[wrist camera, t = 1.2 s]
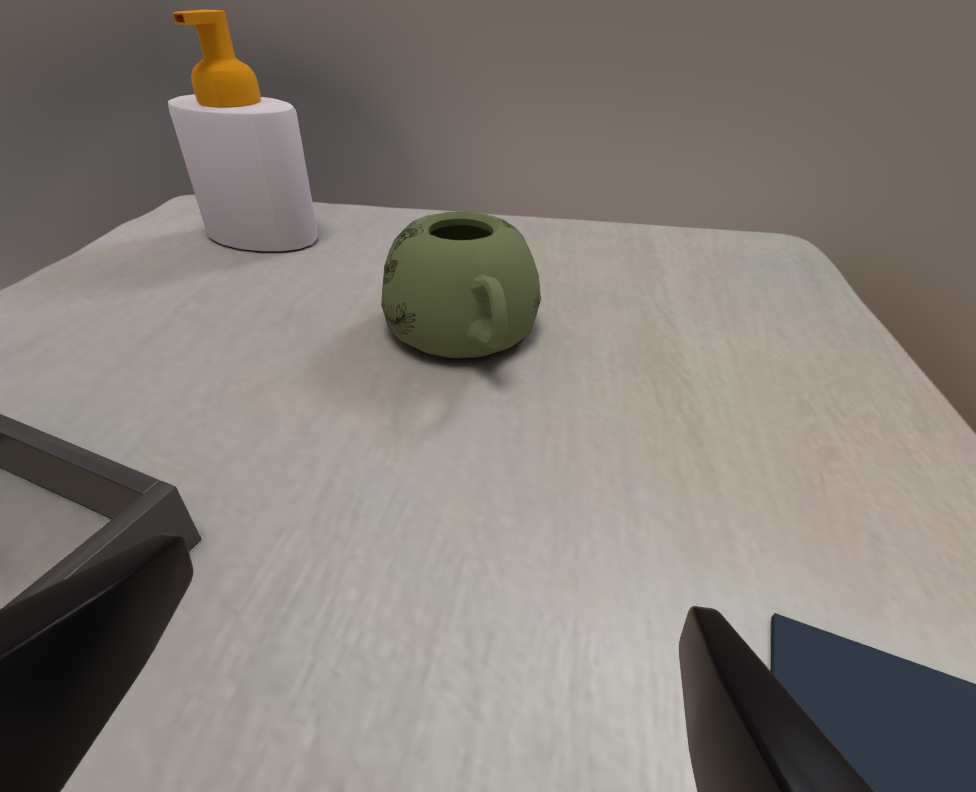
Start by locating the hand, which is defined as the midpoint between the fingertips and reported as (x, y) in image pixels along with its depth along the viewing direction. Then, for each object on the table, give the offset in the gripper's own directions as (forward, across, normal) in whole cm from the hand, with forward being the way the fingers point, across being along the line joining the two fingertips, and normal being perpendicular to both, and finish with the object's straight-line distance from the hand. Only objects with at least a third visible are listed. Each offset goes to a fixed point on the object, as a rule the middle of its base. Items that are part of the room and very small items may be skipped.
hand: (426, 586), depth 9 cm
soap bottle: (+51, +30, +5) cm, 59 cm away
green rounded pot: (+35, +5, +8) cm, 36 cm away
